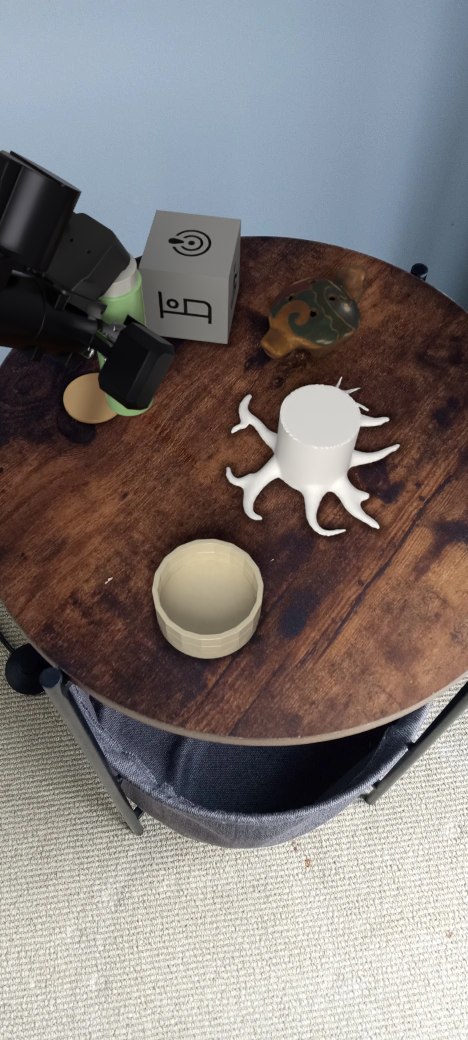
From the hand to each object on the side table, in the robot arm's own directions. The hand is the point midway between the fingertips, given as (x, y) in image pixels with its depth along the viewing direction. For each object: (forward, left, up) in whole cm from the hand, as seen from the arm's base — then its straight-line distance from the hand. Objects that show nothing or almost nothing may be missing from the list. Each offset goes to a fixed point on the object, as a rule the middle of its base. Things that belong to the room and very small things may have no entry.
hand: (132, 338), depth 69 cm
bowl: (+2, -24, -13) cm, 27 cm away
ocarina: (+22, +8, -14) cm, 27 cm away
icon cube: (+9, +16, -14) cm, 23 cm away
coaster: (-5, +5, -13) cm, 15 cm away
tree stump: (+17, -9, -14) cm, 23 cm away
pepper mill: (-1, -1, -8) cm, 8 cm away
